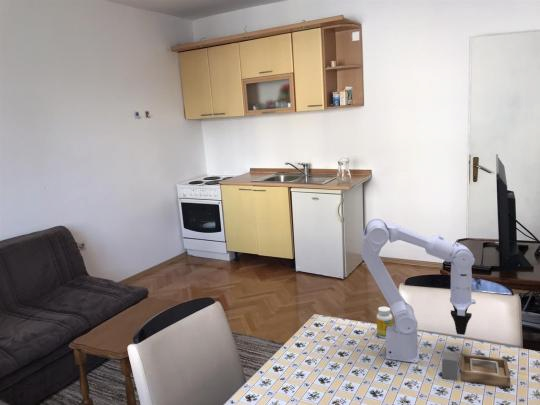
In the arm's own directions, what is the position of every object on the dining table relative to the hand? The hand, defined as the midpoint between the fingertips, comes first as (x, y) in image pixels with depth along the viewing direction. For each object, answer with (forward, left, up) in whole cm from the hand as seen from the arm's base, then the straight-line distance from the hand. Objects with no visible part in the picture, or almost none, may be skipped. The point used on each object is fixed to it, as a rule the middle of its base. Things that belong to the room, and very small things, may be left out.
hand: (460, 328), depth 135 cm
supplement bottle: (-24, +9, -10) cm, 27 cm away
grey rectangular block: (-3, -11, -9) cm, 15 cm away
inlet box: (+6, -8, -9) cm, 14 cm away
